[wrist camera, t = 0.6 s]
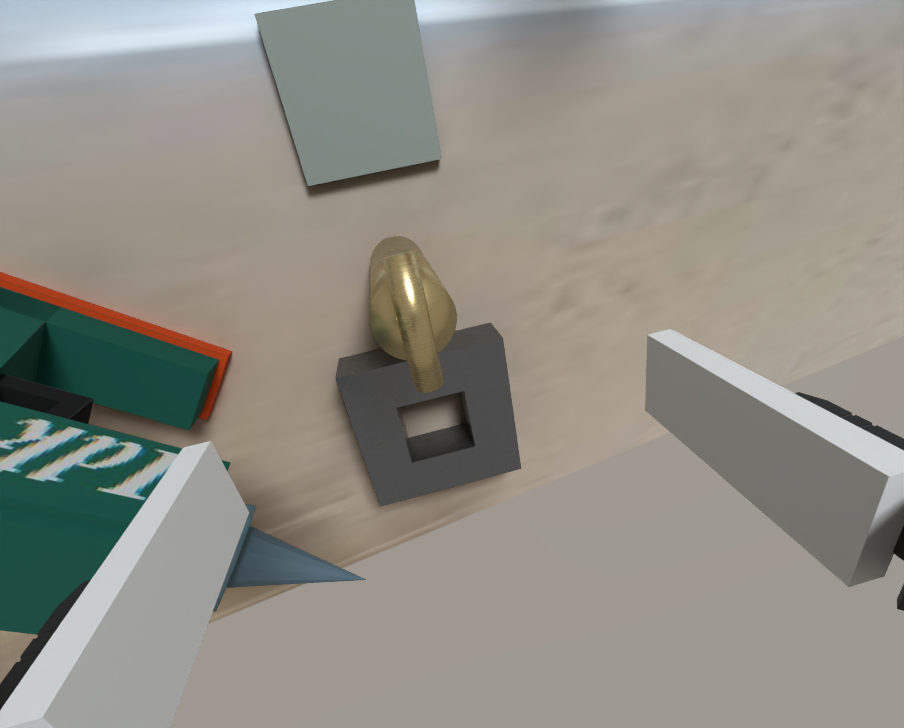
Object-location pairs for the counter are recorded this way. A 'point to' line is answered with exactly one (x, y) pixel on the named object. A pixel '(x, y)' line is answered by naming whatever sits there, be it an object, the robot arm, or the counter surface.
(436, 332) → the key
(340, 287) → the counter surface
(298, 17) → the pad
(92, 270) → the counter surface
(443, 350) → the chuck block
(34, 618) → the power tool
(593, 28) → the counter surface
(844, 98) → the counter surface
